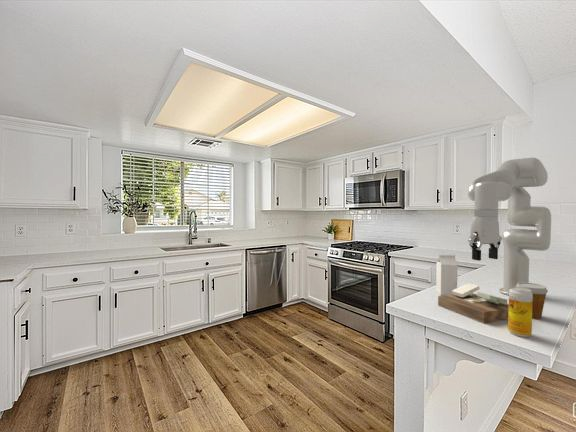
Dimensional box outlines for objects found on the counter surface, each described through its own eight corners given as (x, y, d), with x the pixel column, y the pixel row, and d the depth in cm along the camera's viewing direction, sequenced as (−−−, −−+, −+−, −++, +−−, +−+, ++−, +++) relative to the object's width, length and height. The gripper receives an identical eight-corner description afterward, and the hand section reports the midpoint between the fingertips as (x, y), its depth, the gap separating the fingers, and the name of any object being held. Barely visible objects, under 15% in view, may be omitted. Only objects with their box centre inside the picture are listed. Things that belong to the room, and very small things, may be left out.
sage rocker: (493, 301, 116) (494, 295, 116) (506, 306, 111) (507, 299, 111) (476, 298, 112) (477, 291, 112) (488, 302, 108) (490, 295, 108)
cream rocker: (469, 288, 126) (468, 282, 126) (480, 291, 121) (479, 285, 121) (452, 296, 123) (451, 290, 123) (463, 299, 118) (462, 294, 118)
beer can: (503, 330, 98) (504, 286, 97) (519, 329, 98) (521, 286, 98) (519, 338, 92) (520, 292, 91) (536, 337, 92) (537, 291, 92)
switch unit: (468, 300, 128) (469, 290, 128) (517, 317, 109) (517, 304, 109) (438, 305, 122) (438, 294, 122) (483, 323, 103) (484, 310, 103)
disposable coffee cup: (515, 309, 117) (515, 280, 117) (546, 315, 111) (547, 284, 111) (514, 316, 110) (515, 285, 110) (547, 322, 104) (548, 290, 104)
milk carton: (457, 296, 134) (457, 256, 133) (440, 295, 136) (441, 256, 135) (451, 292, 141) (452, 254, 140) (436, 291, 142) (436, 253, 142)
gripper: (492, 213, 116) (491, 256, 116) (460, 214, 110) (459, 259, 111) (511, 214, 109) (510, 259, 109) (478, 214, 103) (477, 262, 103)
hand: (484, 259), depth 110 cm, fingers open, 8 cm apart
